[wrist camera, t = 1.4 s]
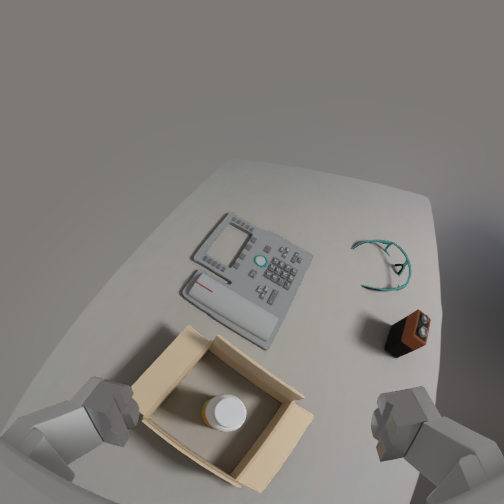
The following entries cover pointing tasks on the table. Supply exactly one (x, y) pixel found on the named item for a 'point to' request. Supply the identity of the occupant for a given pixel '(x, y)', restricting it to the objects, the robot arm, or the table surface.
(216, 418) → the supplement bottle
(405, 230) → the table surface
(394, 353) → the battery
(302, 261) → the office telephone
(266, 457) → the carton
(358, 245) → the sunglasses
